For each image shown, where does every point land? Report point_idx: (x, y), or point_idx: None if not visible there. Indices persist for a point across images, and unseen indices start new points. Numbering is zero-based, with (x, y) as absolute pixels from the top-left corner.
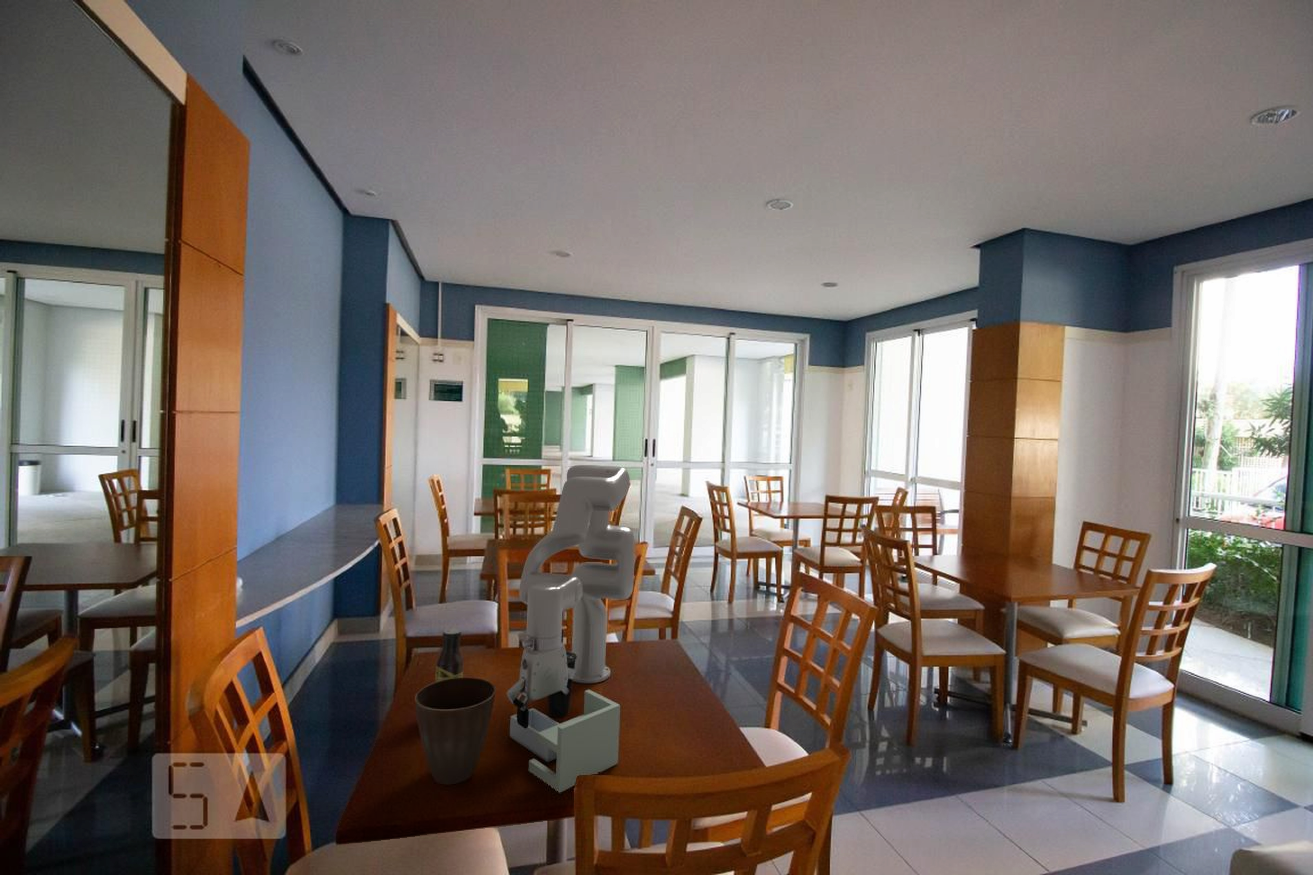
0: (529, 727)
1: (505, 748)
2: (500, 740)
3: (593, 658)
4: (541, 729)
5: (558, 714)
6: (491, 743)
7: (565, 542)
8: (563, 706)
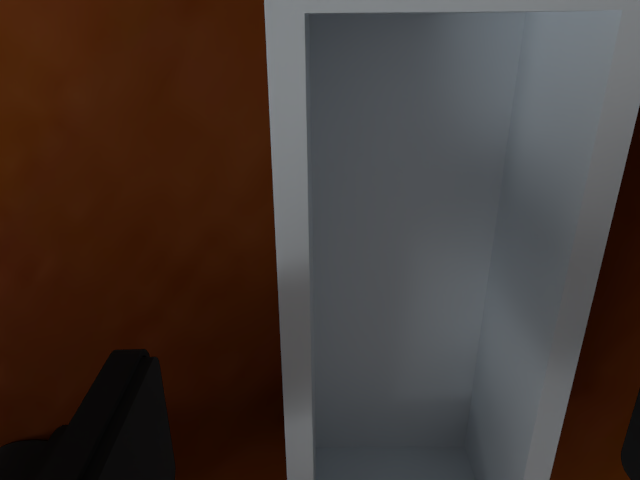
0: (567, 358)
1: (597, 355)
2: None
3: None
4: (314, 370)
5: None
6: (605, 446)
7: None
8: (118, 398)
